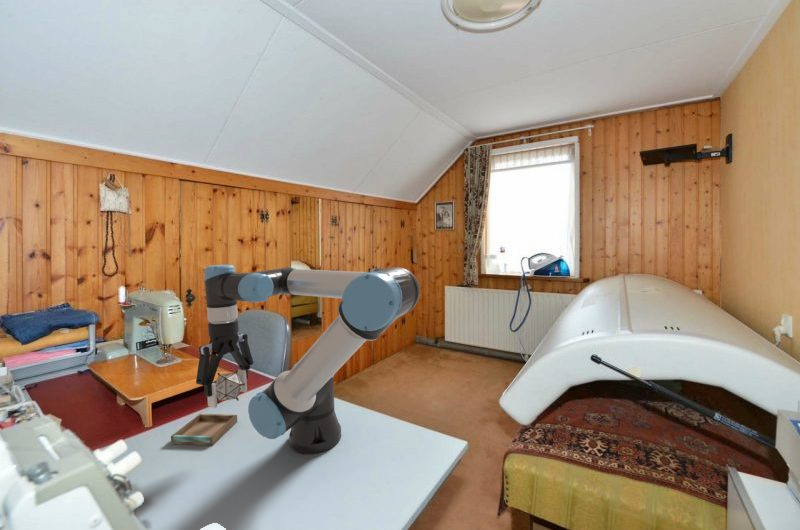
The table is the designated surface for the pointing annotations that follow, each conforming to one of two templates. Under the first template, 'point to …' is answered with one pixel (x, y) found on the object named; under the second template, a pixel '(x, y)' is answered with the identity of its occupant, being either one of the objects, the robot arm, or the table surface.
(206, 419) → the brown wooden tray
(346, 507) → the table surface
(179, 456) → the table surface
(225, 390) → the game die
